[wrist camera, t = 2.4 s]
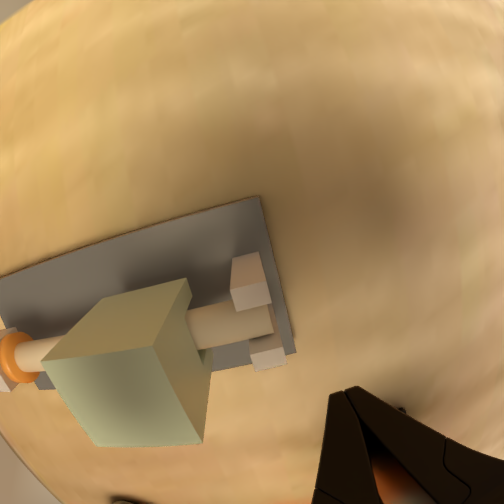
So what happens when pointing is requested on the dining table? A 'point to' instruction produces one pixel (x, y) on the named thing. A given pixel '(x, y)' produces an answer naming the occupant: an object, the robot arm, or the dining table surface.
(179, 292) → the matte sage green cube
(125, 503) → the grey rounded oval lump
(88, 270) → the cord board
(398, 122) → the dining table surface
